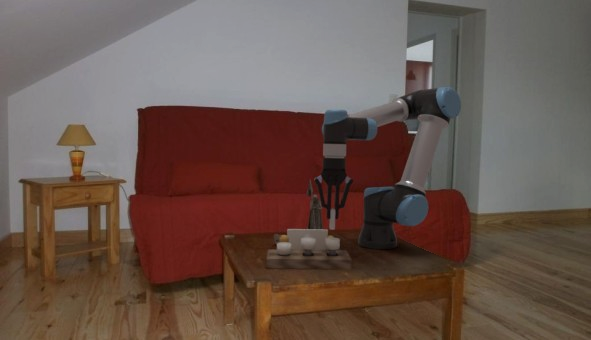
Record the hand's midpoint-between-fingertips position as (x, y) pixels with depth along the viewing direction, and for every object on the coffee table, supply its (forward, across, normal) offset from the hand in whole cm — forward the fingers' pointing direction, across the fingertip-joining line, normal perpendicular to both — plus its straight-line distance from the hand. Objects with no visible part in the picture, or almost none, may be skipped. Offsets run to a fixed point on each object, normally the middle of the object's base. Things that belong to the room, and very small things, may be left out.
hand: (332, 228), depth 141 cm
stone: (+12, +14, -22) cm, 29 cm away
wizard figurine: (+12, +4, -37) cm, 39 cm away
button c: (+11, +16, 0) cm, 19 cm away
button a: (+9, 0, 0) cm, 9 cm away
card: (+12, +8, -7) cm, 16 cm away
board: (+12, +8, 0) cm, 14 cm away
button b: (+10, +8, 0) cm, 12 cm away
